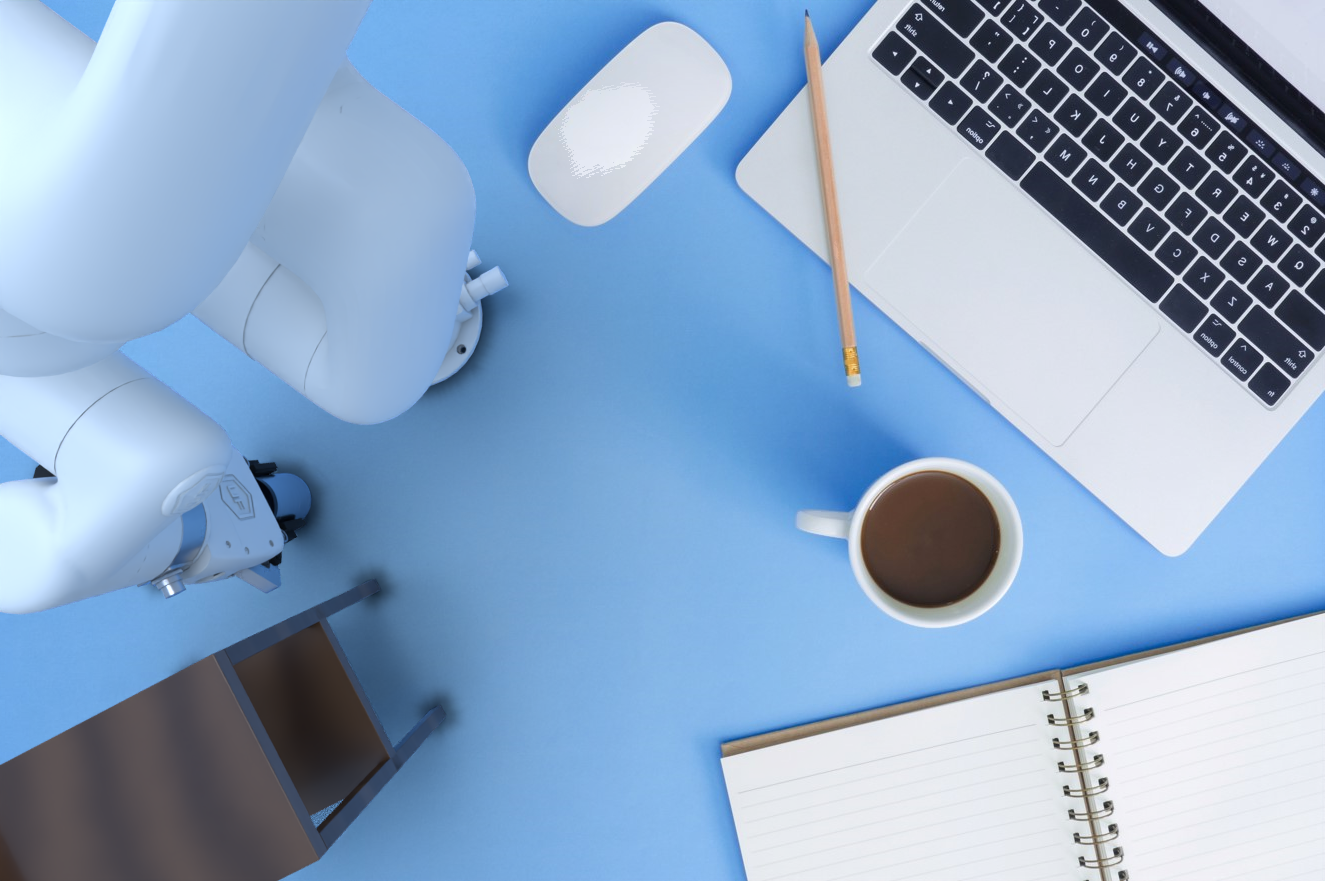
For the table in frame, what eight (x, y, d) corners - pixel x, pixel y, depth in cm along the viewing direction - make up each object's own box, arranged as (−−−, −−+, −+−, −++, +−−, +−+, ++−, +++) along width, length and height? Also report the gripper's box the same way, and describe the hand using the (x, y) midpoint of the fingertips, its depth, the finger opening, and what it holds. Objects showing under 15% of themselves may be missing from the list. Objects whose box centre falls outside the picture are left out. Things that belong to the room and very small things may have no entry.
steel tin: (296, 462, 79) (257, 465, 72) (322, 511, 79) (285, 519, 72) (249, 487, 79) (204, 493, 72) (274, 536, 79) (232, 547, 72)
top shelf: (223, 648, 54) (193, 662, 51) (328, 850, 54) (304, 877, 51) (-50, 791, 55) (-96, 813, 52) (52, 989, 55) (12, 1024, 52)
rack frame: (375, 577, 79) (223, 648, 54) (446, 716, 79) (328, 850, 54) (184, 677, 80) (-50, 791, 55) (254, 814, 80) (52, 989, 55)
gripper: (250, 611, 59) (358, 567, 77) (135, 387, 59) (269, 396, 77) (155, 661, 60) (284, 605, 78) (40, 439, 60) (196, 435, 78)
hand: (275, 501), depth 77 cm, fingers closed on steel tin, 4 cm apart
